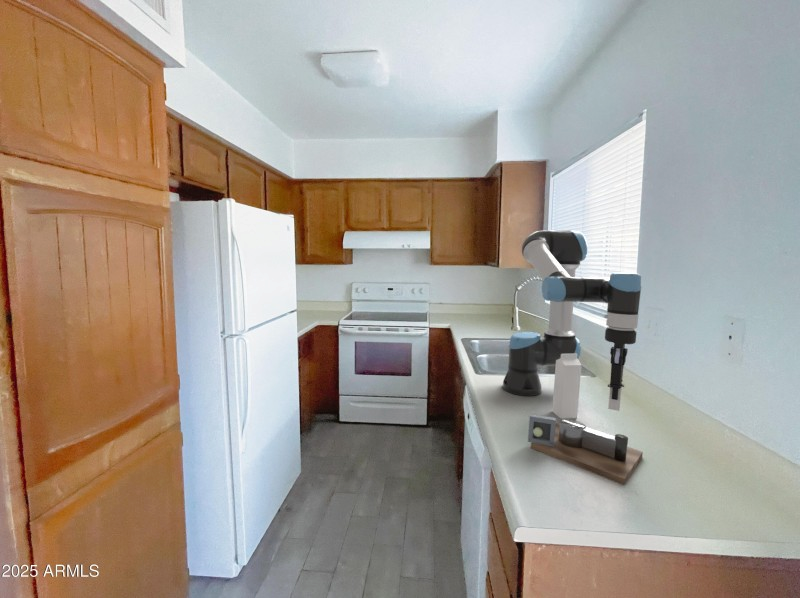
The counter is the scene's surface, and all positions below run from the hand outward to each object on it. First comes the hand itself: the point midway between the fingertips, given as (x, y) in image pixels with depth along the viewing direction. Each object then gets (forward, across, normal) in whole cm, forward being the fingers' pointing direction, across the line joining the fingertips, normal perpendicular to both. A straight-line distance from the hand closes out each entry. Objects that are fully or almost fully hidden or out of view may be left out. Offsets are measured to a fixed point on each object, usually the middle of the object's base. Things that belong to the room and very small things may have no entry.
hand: (613, 408), depth 108 cm
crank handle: (+10, +7, -4) cm, 13 cm away
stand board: (+12, +7, -6) cm, 15 cm away
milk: (+12, -16, -16) cm, 26 cm away
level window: (+10, +12, -17) cm, 23 cm away
